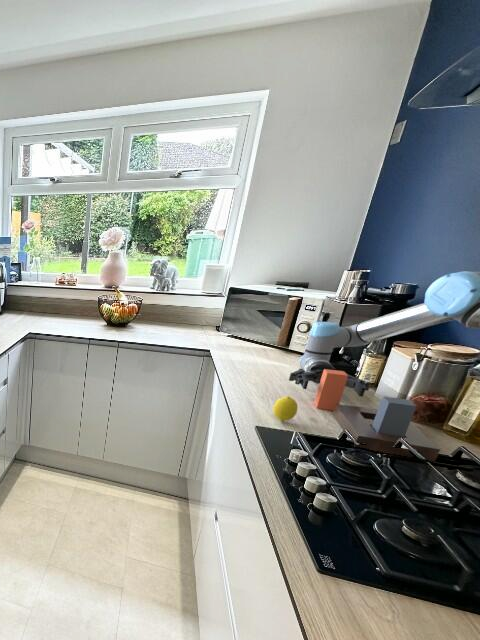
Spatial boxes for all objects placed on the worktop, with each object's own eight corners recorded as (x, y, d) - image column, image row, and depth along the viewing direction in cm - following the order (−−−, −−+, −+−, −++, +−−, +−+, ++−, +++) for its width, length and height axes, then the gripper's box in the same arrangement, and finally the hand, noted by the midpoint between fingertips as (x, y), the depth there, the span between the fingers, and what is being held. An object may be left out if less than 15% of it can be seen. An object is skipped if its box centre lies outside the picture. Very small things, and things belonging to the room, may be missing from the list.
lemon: (279, 416, 123) (285, 392, 120) (297, 423, 118) (305, 398, 115) (265, 418, 121) (272, 394, 119) (284, 426, 116) (291, 400, 114)
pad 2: (392, 440, 107) (408, 399, 103) (399, 448, 103) (416, 406, 99) (367, 436, 110) (382, 396, 106) (373, 444, 106) (389, 402, 101)
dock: (397, 423, 117) (401, 412, 116) (434, 462, 97) (440, 449, 96) (331, 413, 124) (335, 403, 123) (354, 447, 104) (358, 435, 103)
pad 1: (333, 406, 130) (344, 371, 126) (336, 411, 126) (348, 375, 122) (313, 403, 132) (323, 368, 128) (316, 408, 128) (327, 373, 124)
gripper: (363, 386, 137) (383, 407, 120) (274, 375, 149) (281, 392, 132) (370, 365, 134) (392, 383, 117) (279, 356, 146) (286, 371, 129)
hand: (333, 388), depth 124 cm, fingers open, 13 cm apart
